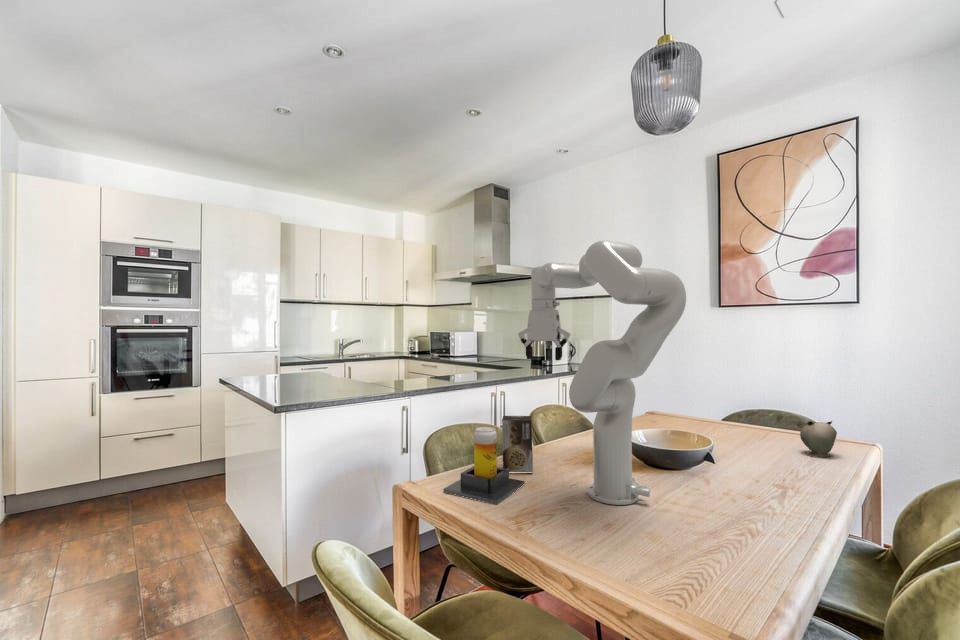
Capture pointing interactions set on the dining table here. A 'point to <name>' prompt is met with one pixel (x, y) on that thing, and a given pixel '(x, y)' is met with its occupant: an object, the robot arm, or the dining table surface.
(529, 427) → the coffee box
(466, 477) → the mount
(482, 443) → the beer can
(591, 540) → the dining table surface
